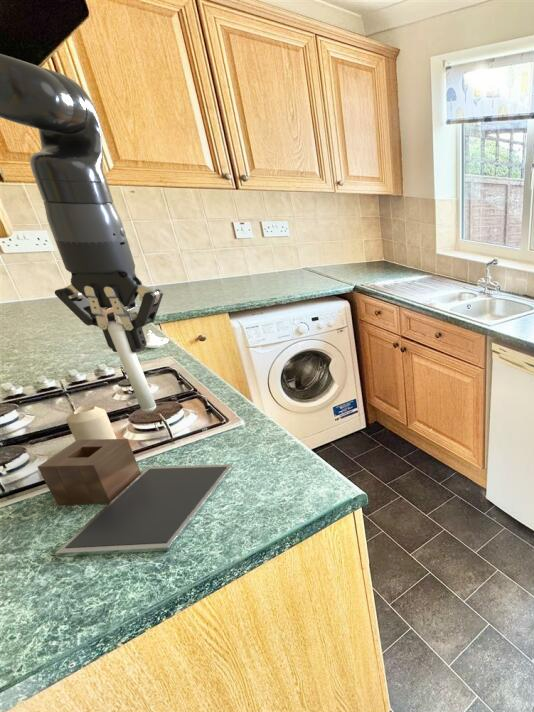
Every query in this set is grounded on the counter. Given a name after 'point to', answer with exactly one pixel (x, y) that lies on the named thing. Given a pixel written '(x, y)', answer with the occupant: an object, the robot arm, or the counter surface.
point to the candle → (90, 424)
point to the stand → (90, 471)
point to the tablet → (149, 511)
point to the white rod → (132, 367)
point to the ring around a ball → (154, 340)
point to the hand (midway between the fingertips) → (129, 350)
